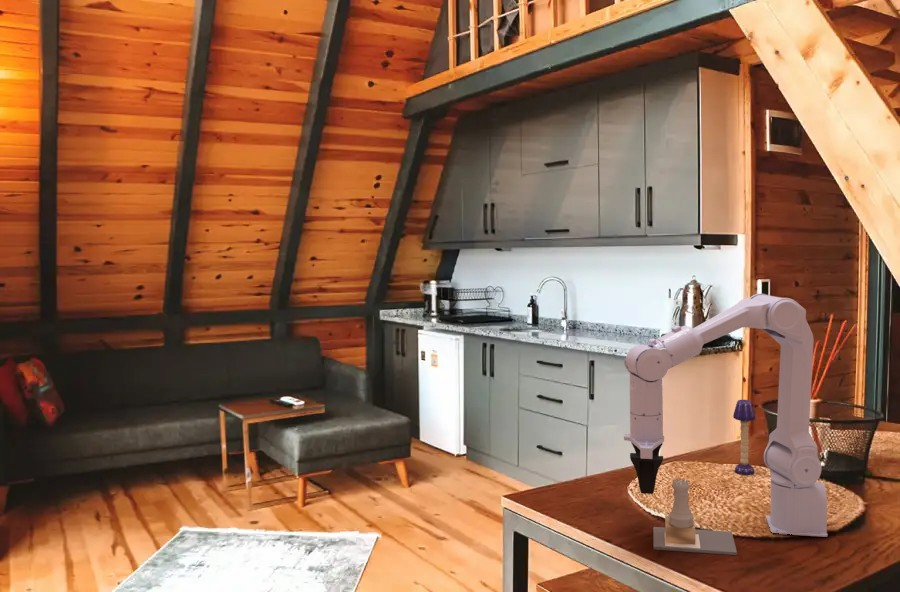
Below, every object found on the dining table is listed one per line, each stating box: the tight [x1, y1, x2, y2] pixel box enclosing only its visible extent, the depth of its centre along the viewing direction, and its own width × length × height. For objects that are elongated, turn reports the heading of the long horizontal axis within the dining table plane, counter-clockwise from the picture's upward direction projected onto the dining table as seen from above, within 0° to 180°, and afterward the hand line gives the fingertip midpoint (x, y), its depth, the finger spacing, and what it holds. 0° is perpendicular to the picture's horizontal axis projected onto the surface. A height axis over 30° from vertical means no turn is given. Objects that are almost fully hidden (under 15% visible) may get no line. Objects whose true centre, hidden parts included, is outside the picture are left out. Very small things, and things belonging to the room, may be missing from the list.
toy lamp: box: [732, 399, 756, 476], centre depth 176 cm, size 5×5×17 cm
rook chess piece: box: [668, 478, 695, 528], centre depth 140 cm, size 4×4×8 cm
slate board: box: [652, 526, 738, 556], centre depth 141 cm, size 14×9×1 cm, turn 75°
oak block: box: [664, 515, 696, 544], centre depth 141 cm, size 5×5×3 cm
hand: (647, 485), depth 141 cm, fingers open, 7 cm apart
